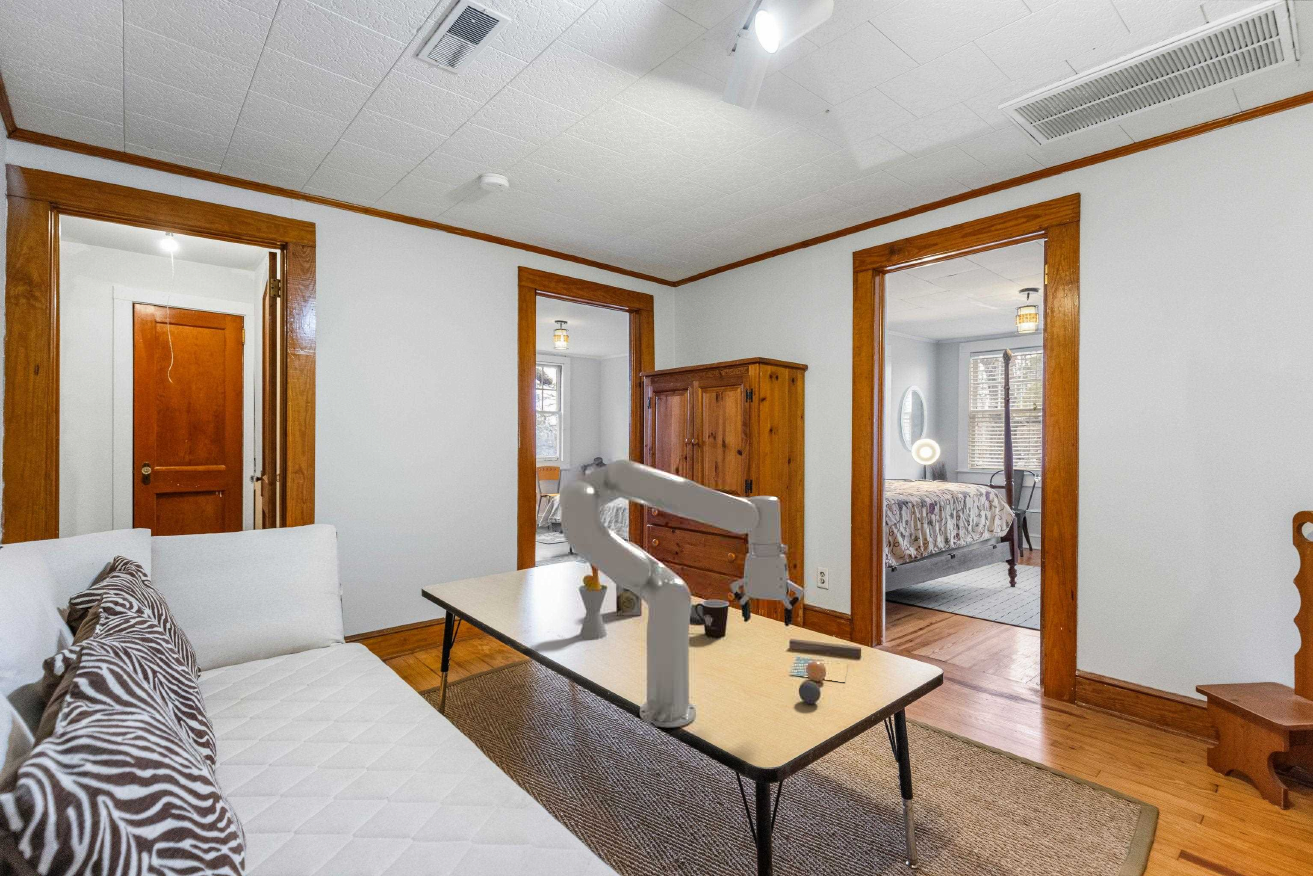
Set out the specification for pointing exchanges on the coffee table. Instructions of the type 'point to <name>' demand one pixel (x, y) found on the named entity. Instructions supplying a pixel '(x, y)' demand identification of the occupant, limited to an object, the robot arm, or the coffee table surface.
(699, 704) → the coffee table surface
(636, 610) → the coffee box
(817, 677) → the object ball
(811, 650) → the wall
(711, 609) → the coffee mug
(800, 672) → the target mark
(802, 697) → the grey ball
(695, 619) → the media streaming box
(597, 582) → the lava lamp
